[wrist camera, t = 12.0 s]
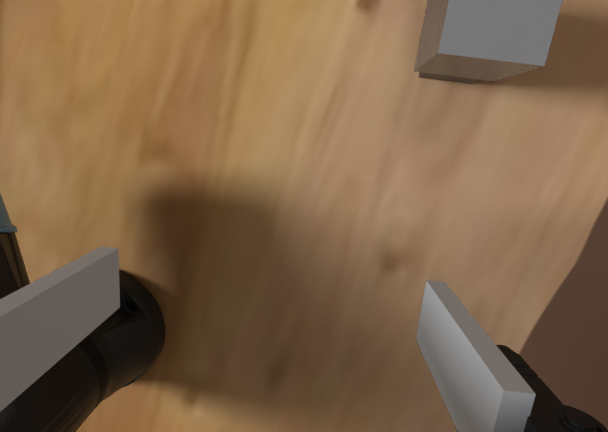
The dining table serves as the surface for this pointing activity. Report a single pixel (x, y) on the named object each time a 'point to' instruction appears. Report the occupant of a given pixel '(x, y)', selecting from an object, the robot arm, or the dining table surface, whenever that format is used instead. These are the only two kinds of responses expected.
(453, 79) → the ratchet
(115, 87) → the dining table surface
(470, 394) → the robot arm
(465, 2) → the grey stone cube
